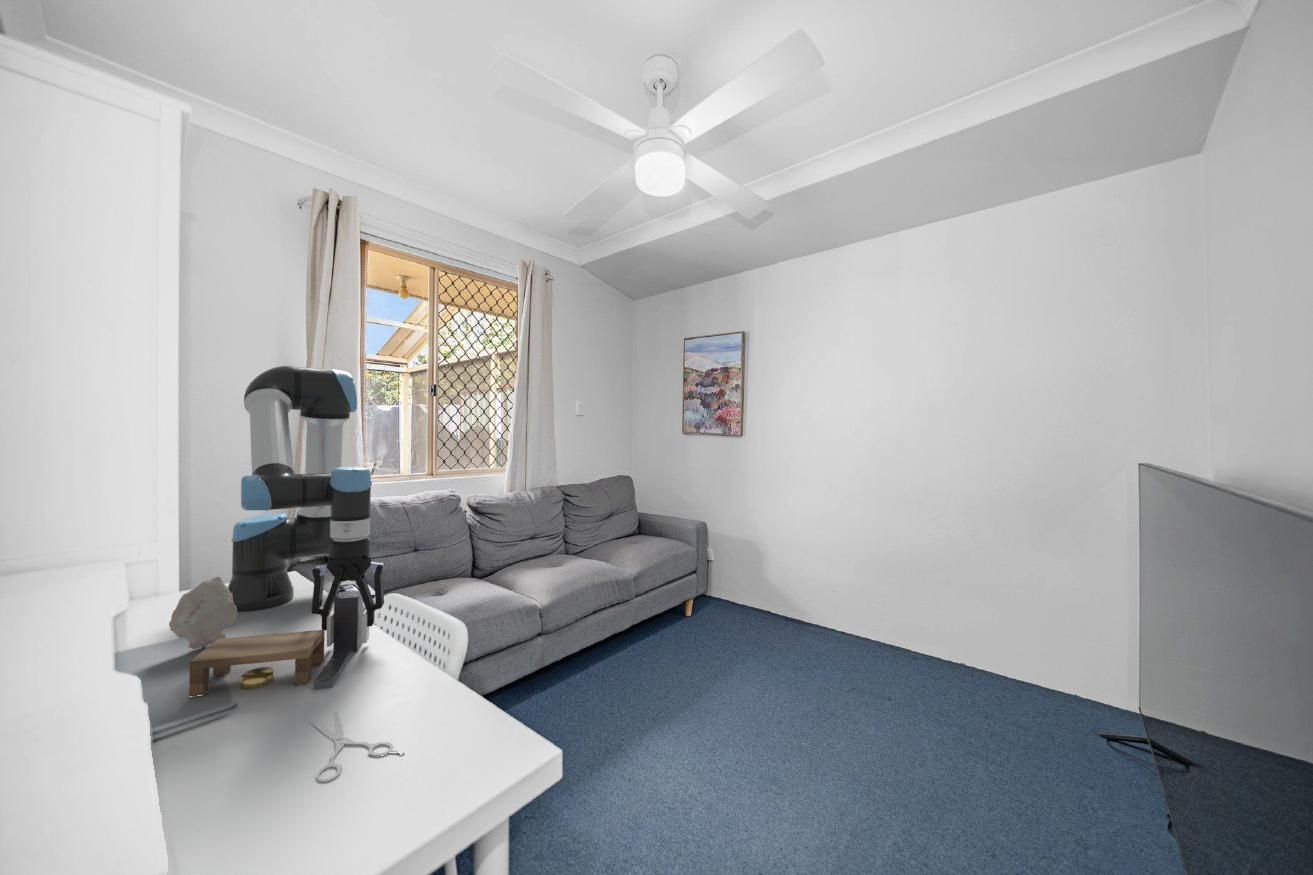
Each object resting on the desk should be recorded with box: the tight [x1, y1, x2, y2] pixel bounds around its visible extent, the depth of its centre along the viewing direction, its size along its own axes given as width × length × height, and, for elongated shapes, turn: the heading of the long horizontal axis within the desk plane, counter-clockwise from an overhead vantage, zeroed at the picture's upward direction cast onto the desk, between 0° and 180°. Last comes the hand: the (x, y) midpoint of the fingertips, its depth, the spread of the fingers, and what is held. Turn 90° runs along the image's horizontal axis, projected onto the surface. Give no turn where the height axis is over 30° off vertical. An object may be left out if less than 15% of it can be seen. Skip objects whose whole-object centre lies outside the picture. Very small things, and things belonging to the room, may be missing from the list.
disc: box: [239, 666, 275, 691], centre depth 94 cm, size 5×5×2 cm
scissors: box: [309, 711, 397, 784], centre depth 78 cm, size 11×1×20 cm
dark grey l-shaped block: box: [312, 590, 364, 690], centre depth 102 cm, size 20×4×12 cm, turn 18°
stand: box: [188, 629, 326, 697], centre depth 96 cm, size 10×18×6 cm, turn 108°
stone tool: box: [168, 576, 238, 650], centre depth 108 cm, size 11×4×15 cm, turn 132°
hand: (348, 642), depth 110 cm, fingers open, 6 cm apart
